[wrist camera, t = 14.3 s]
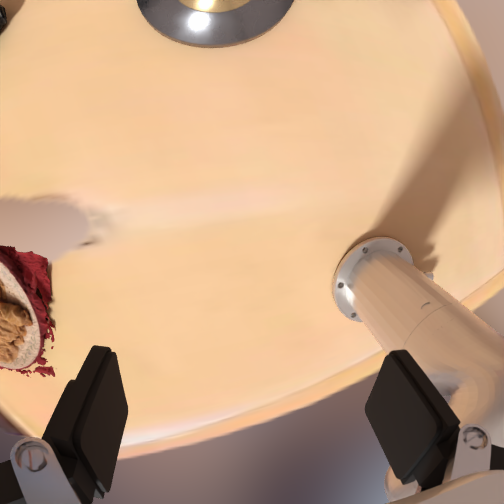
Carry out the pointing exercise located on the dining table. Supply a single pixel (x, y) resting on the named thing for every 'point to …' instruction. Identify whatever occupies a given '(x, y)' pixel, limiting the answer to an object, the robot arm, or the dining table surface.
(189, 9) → the carrier plate
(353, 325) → the dining table surface
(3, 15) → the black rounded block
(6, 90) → the dining table surface
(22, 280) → the plate with food
